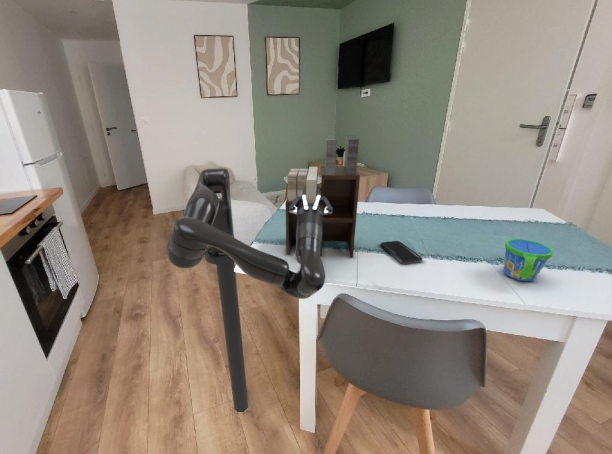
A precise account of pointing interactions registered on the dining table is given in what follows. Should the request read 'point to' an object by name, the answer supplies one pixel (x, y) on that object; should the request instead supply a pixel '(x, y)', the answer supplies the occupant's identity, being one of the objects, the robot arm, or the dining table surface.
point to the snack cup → (525, 259)
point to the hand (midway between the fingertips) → (311, 189)
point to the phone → (401, 252)
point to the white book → (311, 184)
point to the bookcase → (330, 195)
